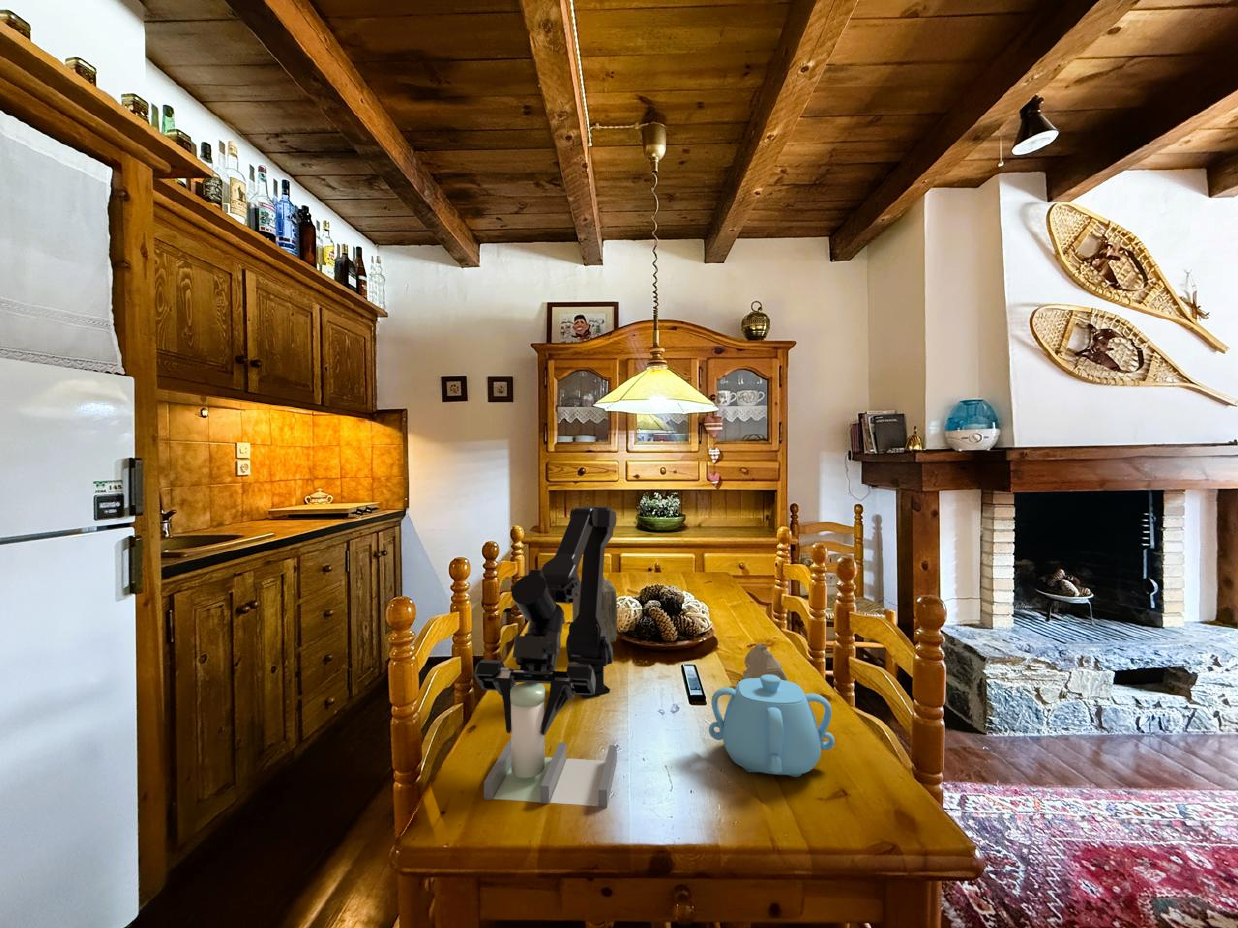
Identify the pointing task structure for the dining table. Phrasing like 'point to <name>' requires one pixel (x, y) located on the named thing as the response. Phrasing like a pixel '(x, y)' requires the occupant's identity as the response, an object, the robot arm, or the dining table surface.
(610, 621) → the tabletop clock
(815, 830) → the dining table surface
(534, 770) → the white capped canister
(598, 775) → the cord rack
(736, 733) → the decorative pot
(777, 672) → the ceramic model
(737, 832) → the dining table surface
